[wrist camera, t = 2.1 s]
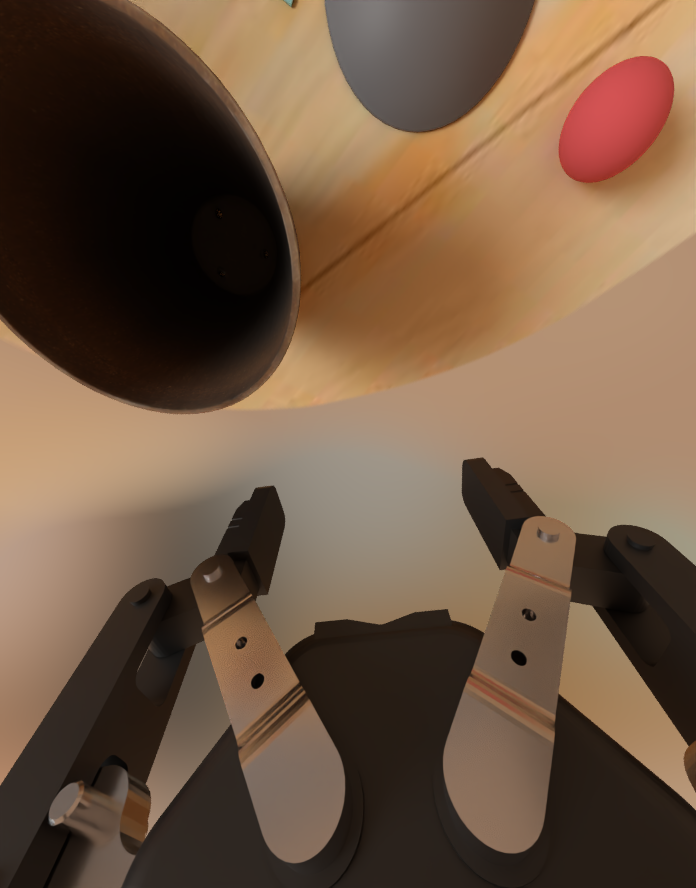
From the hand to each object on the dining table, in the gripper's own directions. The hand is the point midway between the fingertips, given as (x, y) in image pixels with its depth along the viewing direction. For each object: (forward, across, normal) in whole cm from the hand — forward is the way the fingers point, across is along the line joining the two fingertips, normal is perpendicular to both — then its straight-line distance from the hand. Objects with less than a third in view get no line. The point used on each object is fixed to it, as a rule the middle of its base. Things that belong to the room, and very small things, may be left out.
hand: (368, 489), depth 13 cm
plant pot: (+21, +8, -12) cm, 25 cm away
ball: (+17, -19, -14) cm, 29 cm away
